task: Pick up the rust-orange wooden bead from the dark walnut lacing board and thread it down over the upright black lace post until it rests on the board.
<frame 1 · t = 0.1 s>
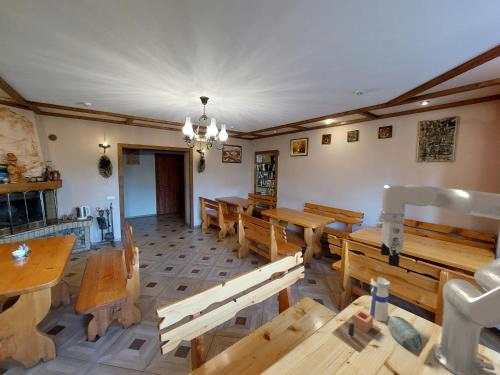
hand: (389, 260, 82), 37 cm above the table, fingers open, 9 cm apart
grey streaked oval part: (402, 341, 88), on the table
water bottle: (377, 318, 102), on the table
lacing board: (356, 334, 92), on the table
bead: (362, 326, 95), point 1 cm above the table, touching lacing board
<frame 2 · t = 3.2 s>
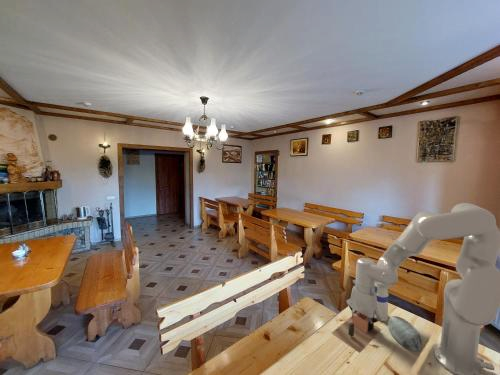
hand: (362, 324, 94), 2 cm above the table, fingers closed on bead, 5 cm apart
bead: (362, 326, 95), point 1 cm above the table, touching gripper, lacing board
everything else where it was.
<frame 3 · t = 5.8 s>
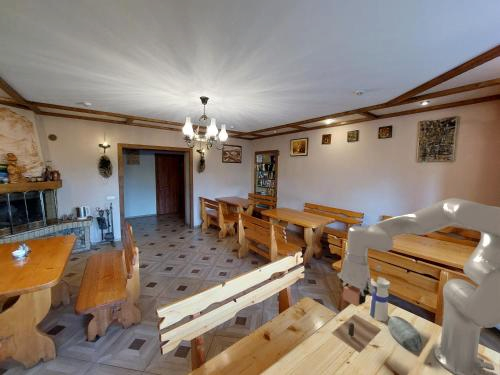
hand: (353, 298, 88), 18 cm above the table, fingers closed on bead, 5 cm apart
bead: (353, 299, 88), point 17 cm above the table, touching gripper
everything else where it was.
when the fingers open (4 cm above the table, at t = 8.6 s): bead drops 2 cm, resting on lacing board.
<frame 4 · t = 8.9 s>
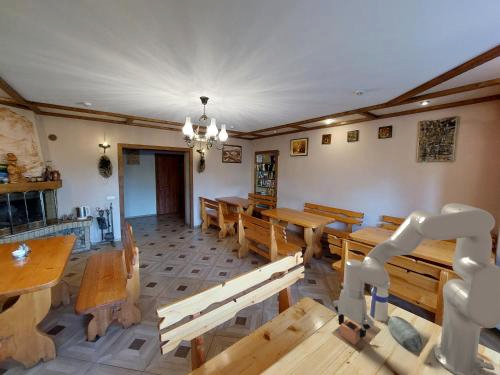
hand: (351, 329, 88), 5 cm above the table, fingers open, 8 cm apart
bead: (351, 336, 89), point 1 cm above the table, touching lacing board
everything else where it was.
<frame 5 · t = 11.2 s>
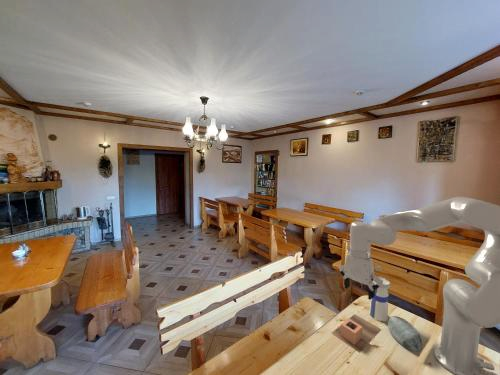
hand: (358, 292, 87), 21 cm above the table, fingers open, 9 cm apart
nothing on the table moved.
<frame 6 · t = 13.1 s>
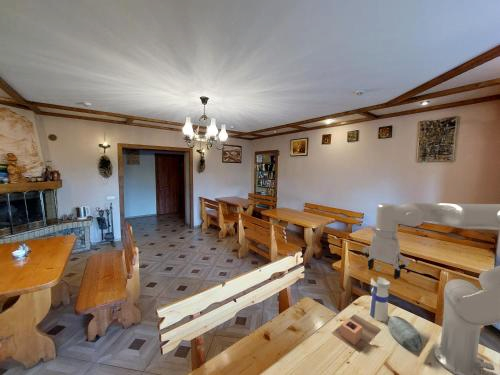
hand: (383, 273, 88), 28 cm above the table, fingers open, 9 cm apart
nothing on the table moved.
at the end: bead 0.1 cm from the target spot on the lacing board, point 1.5 cm above the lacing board's base; the gripper is holding nothing; bead tilted 0° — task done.
